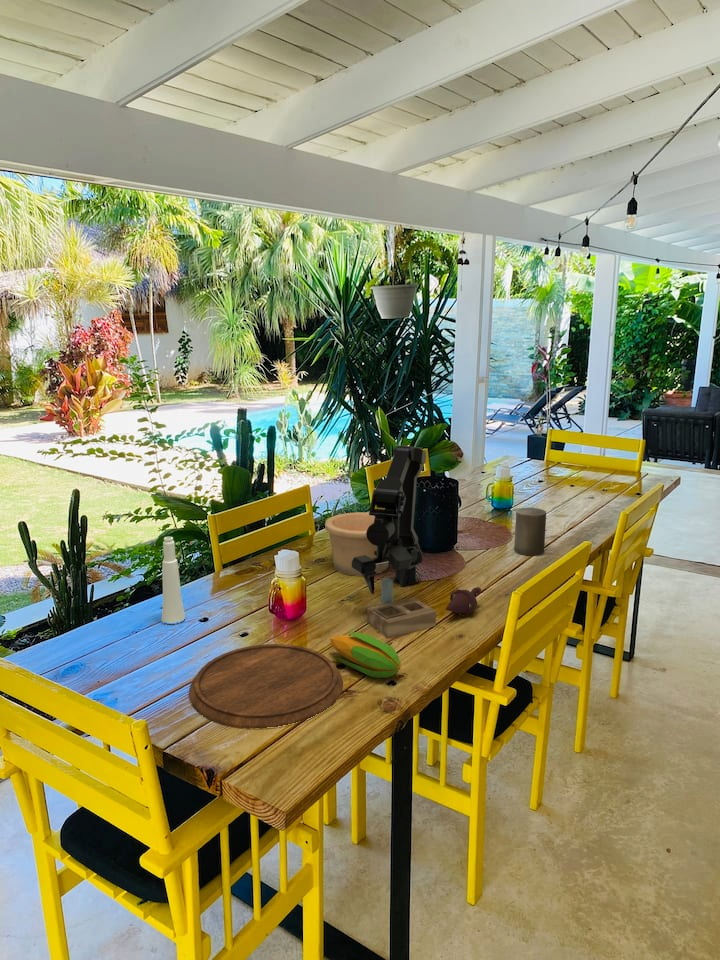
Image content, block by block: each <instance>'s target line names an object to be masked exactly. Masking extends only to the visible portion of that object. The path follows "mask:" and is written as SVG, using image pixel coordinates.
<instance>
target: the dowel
mask: <svg viewBox="0 0 720 960" xmlns="http://www.w3.org/2000/svg"><path fill="white" fill-rule="evenodd" d="M390 578H391V577H390ZM390 578H389V577H385V578H382V579H381V594H380V595H381V597H380V599H381V600H380V601H381V603H380V605H383V604H387V603H392V602H394V581H393V580H392V579H390Z"/></svg>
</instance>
